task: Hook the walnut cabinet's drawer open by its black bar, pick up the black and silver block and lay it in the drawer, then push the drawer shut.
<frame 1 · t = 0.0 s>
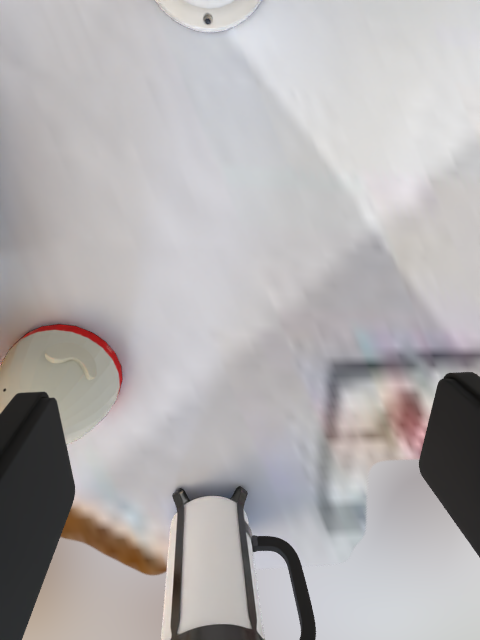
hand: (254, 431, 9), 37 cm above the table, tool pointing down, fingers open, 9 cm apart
kitchen timer: (67, 373, 49), on the table
coffee press: (217, 509, 61), on the table
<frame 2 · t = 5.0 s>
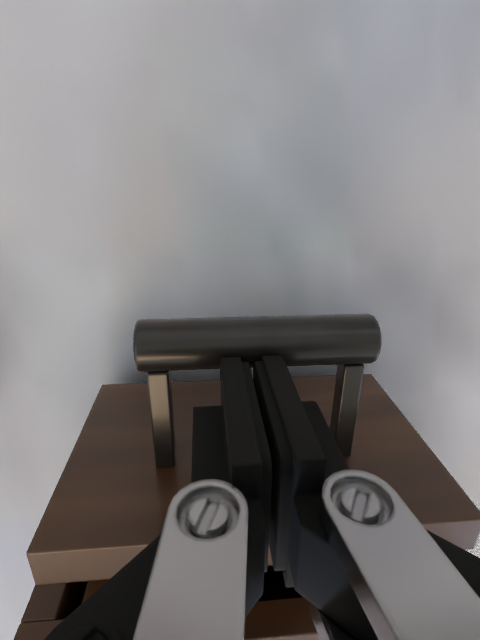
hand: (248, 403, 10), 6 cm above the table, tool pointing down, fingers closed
drawer: (247, 556, 15), point 5 cm above the table, slide at 1.3 cm, touching gripper
cabinet: (237, 542, 21), on the table
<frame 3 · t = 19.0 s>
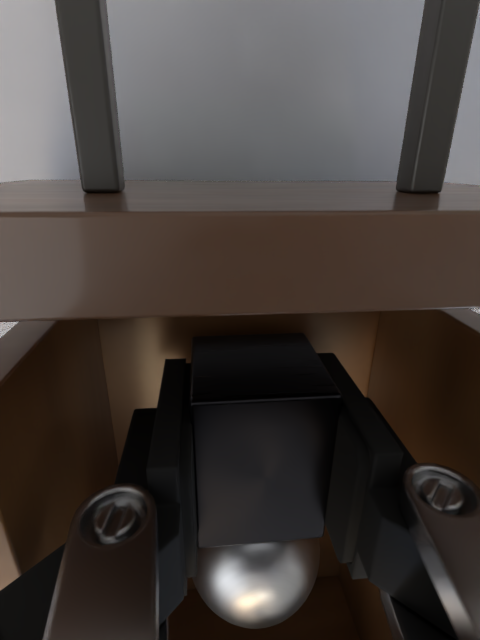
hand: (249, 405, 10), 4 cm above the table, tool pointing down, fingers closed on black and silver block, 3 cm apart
drawer: (253, 433, 10), point 5 cm above the table, slide at 11.3 cm
black and silver block: (246, 453, 11), point 3 cm above the table, touching gripper
when the fingers open (7 cm above the table, at t = 27.7 s): black and silver block stays where it is, resting on drawer.
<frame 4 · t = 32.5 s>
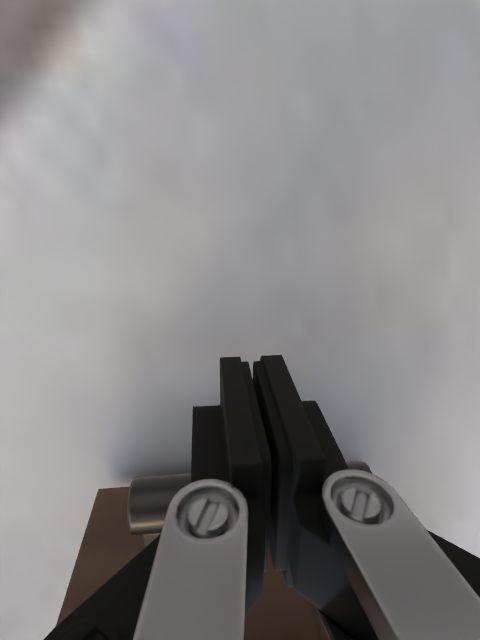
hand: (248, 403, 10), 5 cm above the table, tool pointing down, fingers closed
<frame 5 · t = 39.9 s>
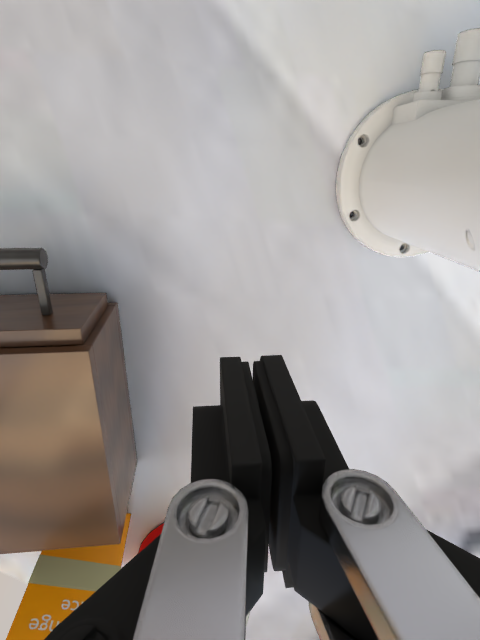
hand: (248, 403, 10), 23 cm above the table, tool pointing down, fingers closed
orange juice: (88, 533, 43), on the table
drawer: (29, 381, 30), point 5 cm above the table, slide at 0.0 cm, touching black and silver block
cabinet: (59, 392, 36), on the table
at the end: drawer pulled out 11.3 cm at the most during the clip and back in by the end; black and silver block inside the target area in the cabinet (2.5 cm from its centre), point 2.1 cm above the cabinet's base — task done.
